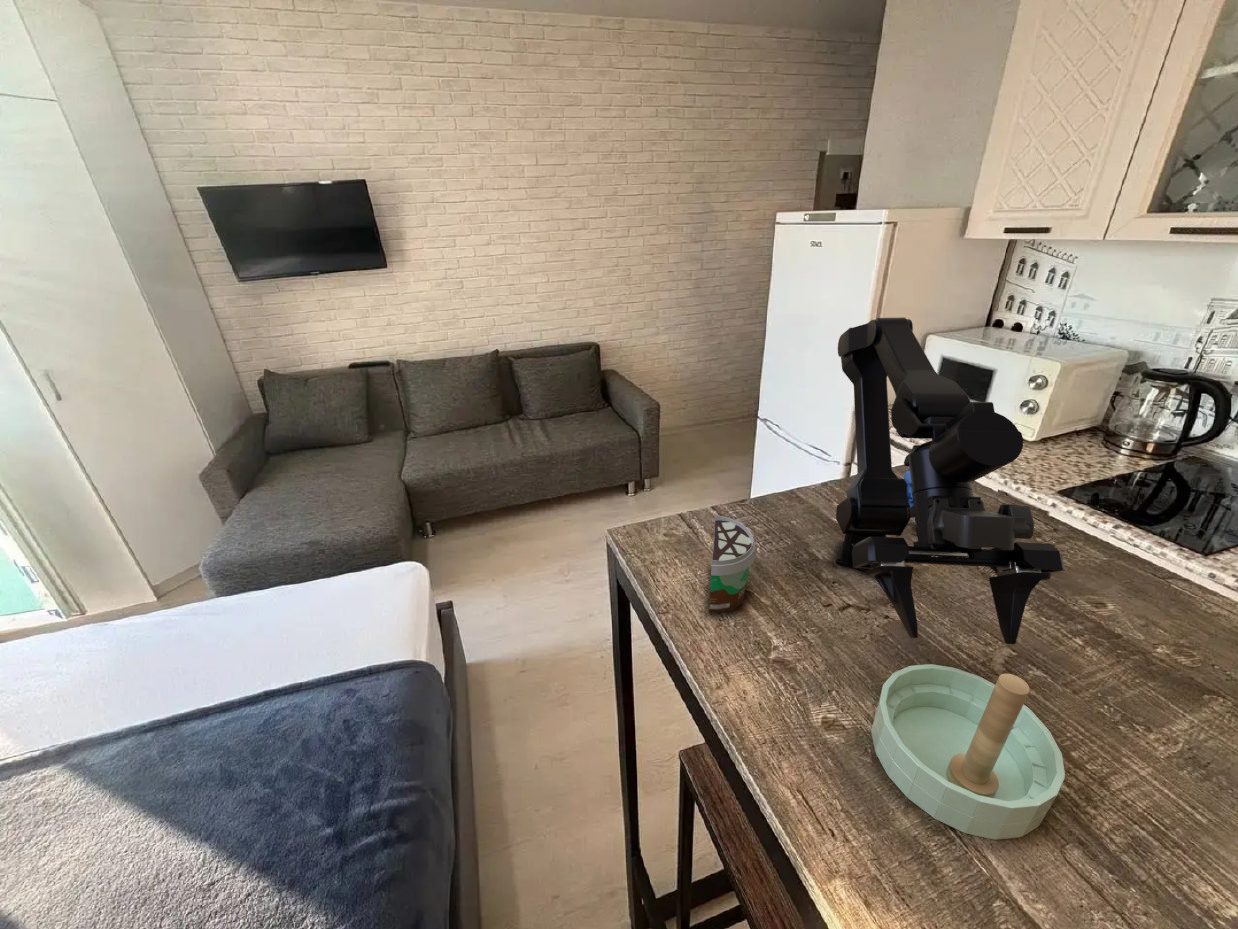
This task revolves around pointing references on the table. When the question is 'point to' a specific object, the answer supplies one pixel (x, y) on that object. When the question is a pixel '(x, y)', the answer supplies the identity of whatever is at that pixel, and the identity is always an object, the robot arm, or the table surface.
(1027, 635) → the table surface
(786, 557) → the table surface
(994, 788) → the pestle
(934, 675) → the bowl
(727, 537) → the food container
